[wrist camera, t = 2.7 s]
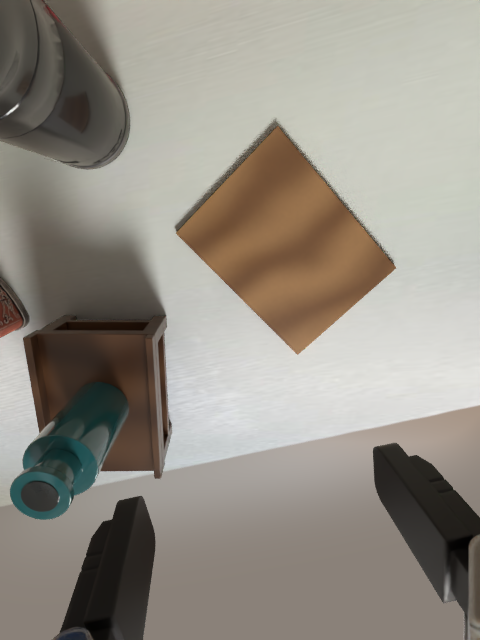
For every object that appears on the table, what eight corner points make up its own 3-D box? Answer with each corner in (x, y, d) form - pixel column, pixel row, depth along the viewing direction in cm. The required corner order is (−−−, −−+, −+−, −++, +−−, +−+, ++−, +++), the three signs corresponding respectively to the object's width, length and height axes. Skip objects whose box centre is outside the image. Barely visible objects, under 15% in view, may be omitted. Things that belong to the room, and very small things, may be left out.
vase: (60, 407, 36) (-20, 497, 24) (96, 370, 35) (30, 447, 23) (104, 441, 37) (48, 542, 26) (140, 406, 36) (98, 496, 24)
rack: (63, 314, 40) (22, 337, 32) (167, 314, 41) (152, 338, 33) (79, 433, 45) (47, 479, 37) (172, 433, 45) (160, 478, 37)
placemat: (176, 232, 38) (175, 233, 37) (277, 126, 35) (277, 125, 35) (297, 353, 42) (297, 354, 42) (394, 267, 40) (396, 267, 39)
